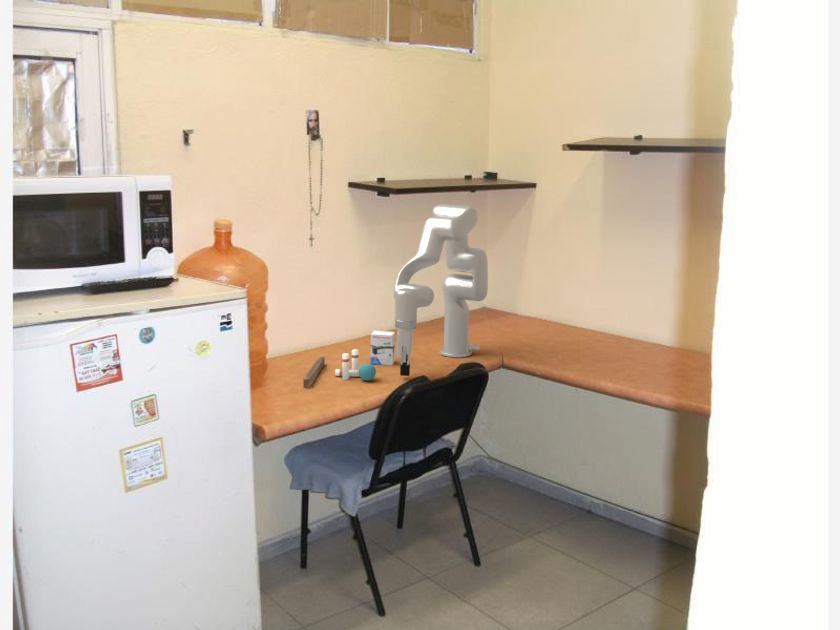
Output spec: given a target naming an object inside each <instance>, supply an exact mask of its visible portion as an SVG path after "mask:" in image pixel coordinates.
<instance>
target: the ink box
mask: <svg viewBox="0 0 840 630" xmlns="http://www.w3.org/2000/svg"><path fill="white" fill-rule="evenodd" d="M395 347H396V332H394V331H383V330H373V331H372V332H371V334H370V364H372V365H379V366H380V365H382V366H393V365H394V363H395V362H396V361H395V359H396V358H395V356H396V353H395V351H396V350H395V349H396V348H395Z"/></svg>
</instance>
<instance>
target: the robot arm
mask: <svg viewBox="0 0 840 630" xmlns="http://www.w3.org/2000/svg"><path fill="white" fill-rule="evenodd" d="M478 218H479V214H478V211H477V209H476V207H474V206H470V205H461V204H450V203H449V204H443V203H442V204H437V205H435V206H434V207H433V209H432V216H430V217H428V218H427V219H426V220H425V222H424V225H423V229H422V231H421V236H420V240H419V242H418V246H417V249H416V252H415V253H416V254H414V256H412V258H411V259H409V260H408V261H407V262H406V263H405V264H404V265H403V266H402V268H401V269H400V271H398V275H397V277H396V279H395V280H396V281H395V285H394V288H393V298H394V300H395V302H394V329H395V330H397V332H396V333H397V335H396V353H395V356H396V358H397V359H398V358H400V364H399V365H400V366H399V368H400V369H399V371H400V373H399V375H400V376H401V377H402V376H403V377H410V373H411V371H410V370H411V366H410V365H411V364H410V358H411V357H412V352H413V344H414V343H413V341H414V330H415V331H416V330H417V326H418V325H417V324H418V323H417V322H418V318H417V317H418V315H417V313H418V308H426V307H429V306H430V305H431V304H432V303H433V302H434V300H435V294H434V290H433V289H432V288H431V287H430V286H427V285H422V284H421V285H420V284H415V283H413V284H412V283H410V280H412V277H413V276H414V275H415V274H416V273H419V271H422V270H424V269H427V268H429V267H432V266H434V265H436V264H438V263H439V261H440V259H441V255H442V251H443V247H444V243H445V262H446V267H447V269H448V270H450V271H453V272H460V273H451V274H448V275H446V276H445V277H444V279H443V281H442V290H443V291H442V292H443V298H444V322H443V323H444V324H443V325H444V326H443V347H442V348H440V349H439V354H440V355H442V356H444V357H449V358H466V357H469V356H471V355H472V353H473V351H480V345H477V344H471V343H470V341H469V332H470V331H469V329H470V328H469V326H470V308H469V305H468V304H467V301H473V302H482V301H484V300H485V299H486V297H487V295H488V291H489V289H488V288H489V277H488V276H489V272H488V271H489V270H488V269H489V267H488V265H489V264H488V263H489V261H488V256H487V253H486V252H485V251H484V250H483V249H482V248H478V247H477V248H476V247H469V241H468V240H469V238H468V234H469V233H470V232H472V230H473V229H474V228H475V227H476V225H477V223H478V221H479V219H478ZM461 273H462V274H461ZM463 273H468V274H463ZM470 274H471V275H470Z"/></svg>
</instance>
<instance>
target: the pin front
mask: <svg viewBox="0 0 840 630" xmlns="http://www.w3.org/2000/svg"><path fill="white" fill-rule="evenodd" d="M334 371H335V372H334V376H335V377H342V368H340V369H339V368H336V369H335V370H334ZM350 377H351V378H354V377H355V378H361V377H360V376H359V370H352V369H349V378H350Z"/></svg>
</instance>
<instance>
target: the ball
mask: <svg viewBox="0 0 840 630" xmlns="http://www.w3.org/2000/svg"><path fill="white" fill-rule="evenodd" d="M359 376H360V377H359V378H361V379H362V380H363V381H366V382H370V381H372V380H374V378H375V377H376V376H377V369H376V367H375V366H374V364H371V363H364V364H361V366H360V367H359Z"/></svg>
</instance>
